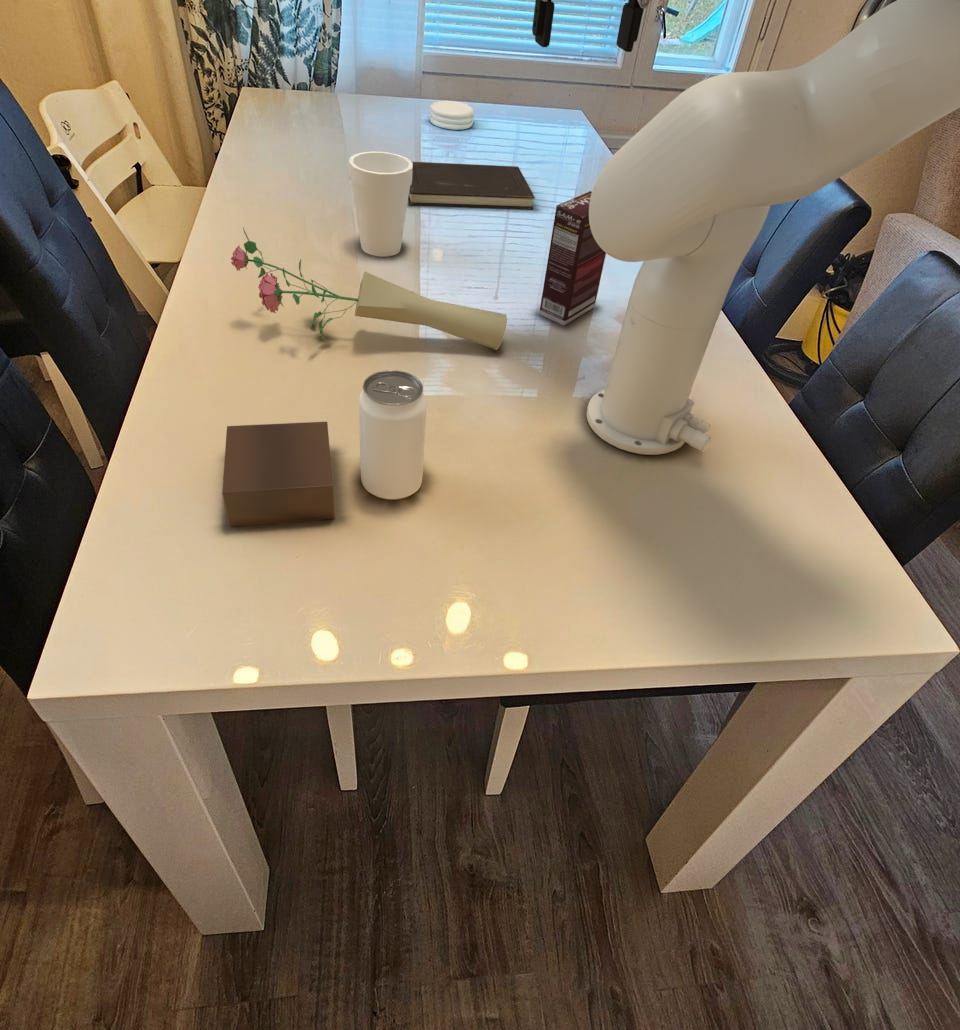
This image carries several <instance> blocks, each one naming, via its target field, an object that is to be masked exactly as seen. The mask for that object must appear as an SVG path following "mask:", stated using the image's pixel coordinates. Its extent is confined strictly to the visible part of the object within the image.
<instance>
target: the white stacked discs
mask: <svg viewBox="0 0 960 1030" xmlns="http://www.w3.org/2000/svg"><path fill="white" fill-rule="evenodd" d="M429 108H430V110H429V122H430V123H431V124H432V125H433V126H436V127H437V128H441V129H444V130H445V129H446V130H455V131H462V130H467V129H469V128H471V127H472V126H473V124H474V117H475V116H474V114H475V109H474V108H473V106H471V105H469V104H467V103H464V102H461V101H456V100H437V101H434V102H432V103H431V104H430V106H429Z"/></svg>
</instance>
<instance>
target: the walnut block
mask: <svg viewBox="0 0 960 1030" xmlns="http://www.w3.org/2000/svg"><path fill="white" fill-rule="evenodd" d="M225 435H226V436H225V447H224V448H225V449H224V463H223V474H222V476H223V477H222V490H221V494H222V498H223V502H224V508H225V513H226V518H227V521H228V526H229V527H240V526H256V525H268V524H269V525H270V524H281V523H282V524H283V523H284V524H285V523H295V522H296V523H297V522H308V521H309V522H310V521H323V520H335V519H336V512H335V510H336V509H335V496H334V495H335V494H334V482H333V473H332V471H333V470H332V459H331V449H330V448H331V447H330V436H329V423H328V421H308V422H307V421H306V422H287V423H265V424H263V423H262V424H245V425H244V424H242V425H241V424H240V425H226V433H225Z"/></svg>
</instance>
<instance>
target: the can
mask: <svg viewBox="0 0 960 1030" xmlns="http://www.w3.org/2000/svg"><path fill="white" fill-rule="evenodd" d="M358 416H359V417H358V422H359V423H358V424H359V425H358V426H359V428H358V429H359V431H358V432H359V460H360V463H359V464H360V480H361V485H362V487H364V489H365V490H366V491H367V492H368V493H370V495H372V496H374V497H377V498H378V499H381V500H382V499H383V500H388V501H397V500H398V501H399V500H402V499H403V500H404V499H406V498H408V497H410V496H412V495H413V494H415V493H416V492H418V490H419V489H420V488H421V486H422V483H423V475H424V474H423V473H424V459H425V457H424V456H425V442H426V424H427V398H426V395H425V392H424V386H423V383H422V381H421V380H420V379H419V378H418V377H417V376H415V375H413V374H411V373H409V372H406V371H404V370H395V369H386V370H381V371H377V372H374V373H372V374H370V375H368V377H366V378H365V379H364V381H363V384H362V391H361V392H360V395H359V398H358Z"/></svg>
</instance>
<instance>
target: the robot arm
mask: <svg viewBox="0 0 960 1030" xmlns="http://www.w3.org/2000/svg"><path fill="white" fill-rule="evenodd" d="M651 1H652V0H628V2H624V4H623V6H622V12H621V16H620V21H619V26H618V32H617V37H616V42H615V43H616V46H617V47H618V48H620V49H621V50H623V51H624V52H627V53H632V51H633V50H634V49H633V48H634V43H636V42H637V41H638V37H639V34H640V28H641V23H642V18H643V15H644V14H643V13H644V10H645V9H646V8H648V7H649V5H650V3H651ZM533 10H534V11H533V18H532V20H533V21H532V29H531V31H532V32H531V33H532V35H533V36H534V42H535V43H536V44H537V45H539V46H540V47H541V48H548V47H550V44H551V36H552V28H553V21H554V13H555V3H554V1H552V0H535V2H534V9H533ZM958 109H960V0H895V1H893V2H891V3H890V4H887V5H886V6H884V7H883V8H881V9H879V10H878V11H876V12H874V13H873V14H872V15H870V16H869V17H867V18H866V19H865V20H863V21H862V22H861V23H859V24H858V25H857V26H856V27H855V28H854V29H852V30H851V31H850V32H849V33H848V34H846V35H845V36H844V37H843V38H842V39H840V40H838V41H837V42H836V43H834V44H833V45H832V46H830V47H829V48H828V49H826V50H825V51H823V52H822V53H820V54H818V55H817V56H816V57H813V59H811V60H809V61H807V62H806V63H804V64H802V65H799V66H797V67H796V66H795V67H791V68H787V69H779V70H778V69H777V70H764V71H763V70H762V71H761V70H760V71H758V70H757V71H756V70H755V71H735V72H728V73H722V74H717V75H713V76H711V77H709V78H708V77H707V78H706V79H703V80H701V81H699V82H697V83H695V84H693V85H691V86H690V87H688V88H686V89H685V90H684V91H682V92H681V93H680V94H678V95H677V96H676V97H675V98H674V99H673V100H671V101H670V102H669V103H668V104H667V105H666V106H665V107H663V109H661V110H660V111H659V112H658V113H657V114H656V115H655V116H654V117H652V118H651V119H650V120H649V122H647V123H646V124H644V126H643V127H642V128H641V129H640V130H638V131H637V132H636V133H635V134H634V135H633V136H632V137H631V138H630V139H628V141H626V142H625V144H623V146H621V147H620V148H619V149H618V150H617V151H615V153H614V154H613V155H612V156H611V157H610V158H609V159H608V161H607V162H606V163H605V165H604V166H603V168H602V169H601V171H600V172H599V174H598V176H597V178H596V180H595V182H594V185H593V187H592V191H591V192H592V194H591V198H590V204H589V224H590V229H591V232H592V234H593V237H594V239H595V240H596V242H597V244H598V245H599V246H600V248H601V249H602V250H603V251H604V252H605V253H606V255H608V256H610V257H612V258H613V259H615V260H618V261H621V262H626V263H637V262H638V263H640V262H642V264H641V266H640V268H639V270H638V272H637V274H636V277H635V279H634V282H633V285H632V289H631V292H630V296H629V299H628V303H627V306H626V309H625V310H626V311H625V314H624V318H623V321H622V325H621V329H620V332H619V337H618V340H617V344H616V347H615V351H614V355H613V359H612V362H611V366H610V370H609V374H608V377H607V381H606V385H605V388H603V389H601V390H600V391H597V392H596V393H595V394H593V396H592V397H591V398H590V399H589V401H588V404H587V407H586V412H585V413H586V415H585V416H586V421H587V422H588V425H589V427H590V428H591V430H592V431H593V432H594V433H595V434H596V435H597V436H598V437H599V438H600V439H602V440H603V441H604V442H606V443H608V444H609V445H611V446H613V447H616V448H618V449H620V450H622V451H625V452H627V453H632V454H638V455H646V456H653V455H656V456H657V455H658V456H659V455H663V454H668V453H670V452H671V453H672V452H674V451H676V450H678V449H680V448H681V447H682V446H683V445H684V444H685V443H686V444H688V445H689V446H691V447H692V448H694V449H697V450H698V451H700V452H703V453H704V452H705V451H706V450H707V448H708V447H709V445H710V443H711V440H712V436H710V435H708V432H709V431H710V429H711V424H709V423H707V422H705V421H703V420H700V419H698V418H696V417H695V416H694V413H692V410H693V408H694V406H695V401H694V400H692V399H690V395H691V392H692V389H693V386H694V383H695V381H696V378H697V375H698V372H699V370H700V367H701V364H702V362H703V360H704V356H705V354H706V351H707V348H708V345H709V343H710V340H711V337H712V335H713V332H714V329H715V327H716V324H717V321H718V320H719V318H720V314H721V312H722V309H723V306H724V304H725V302H726V298H727V297H728V293H729V292H730V289H731V287H732V284H733V282H734V279H735V278H736V275H737V273H738V271H739V269H740V268H741V266H742V264H743V262H744V260H745V258H746V256H747V255H748V253H749V251H750V250H751V249H752V247H753V245H754V244H755V242H756V240H757V238H758V236H759V235H760V233H761V231H762V229H763V227H764V224H765V223H766V220H767V218H768V215H769V212H770V210H771V206H776V205H780V204H788V203H791V202H795V201H796V202H797V201H799V200H801V199H804V198H806V197H808V196H810V195H812V194H815V193H816V192H818V191H819V190H822V189H823V188H824V187H826V186H828V185H829V184H832V183H833V182H835V181H836V180H838V179H840V178H841V177H843V176H845V175H847V174H848V173H849V172H852V171H853V170H855V169H857V168H859V167H860V166H863V165H864V164H866V163H867V162H869V161H871V160H873V159H874V158H876V157H878V156H880V155H881V154H883V153H885V152H887V151H889V150H890V149H892V148H894V147H896V146H897V145H898V144H900V143H902V142H903V141H905V140H906V139H908V138H910V137H911V136H913V135H915V134H917V132H919V131H921V130H923V129H925V128H926V127H928V126H930V125H931V124H934V123H936V122H938V121H939V120H940V119H942V118H944V117H945V116H948V115H949V114H951V113H953V112H955V111H956V110H958Z"/></svg>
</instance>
